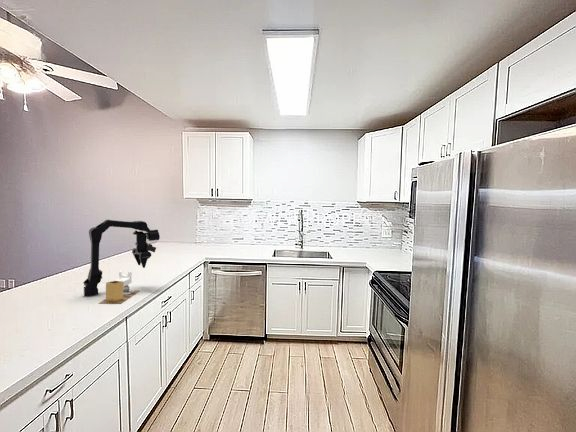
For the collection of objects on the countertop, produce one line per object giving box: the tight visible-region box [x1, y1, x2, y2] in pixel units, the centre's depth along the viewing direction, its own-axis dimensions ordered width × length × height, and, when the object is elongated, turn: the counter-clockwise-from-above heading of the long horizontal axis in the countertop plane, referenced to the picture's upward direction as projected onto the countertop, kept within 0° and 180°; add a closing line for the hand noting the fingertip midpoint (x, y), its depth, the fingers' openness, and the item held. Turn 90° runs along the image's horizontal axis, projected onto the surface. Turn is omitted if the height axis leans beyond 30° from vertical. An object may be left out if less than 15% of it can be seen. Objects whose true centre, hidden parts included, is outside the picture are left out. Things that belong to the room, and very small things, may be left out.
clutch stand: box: [97, 284, 141, 305], centre depth 196 cm, size 26×12×6 cm, turn 1°
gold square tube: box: [105, 280, 123, 303], centre depth 189 cm, size 6×6×10 cm
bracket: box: [113, 270, 133, 287], centre depth 228 cm, size 13×7×8 cm, turn 1°
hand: (141, 266), depth 216 cm, fingers open, 9 cm apart
